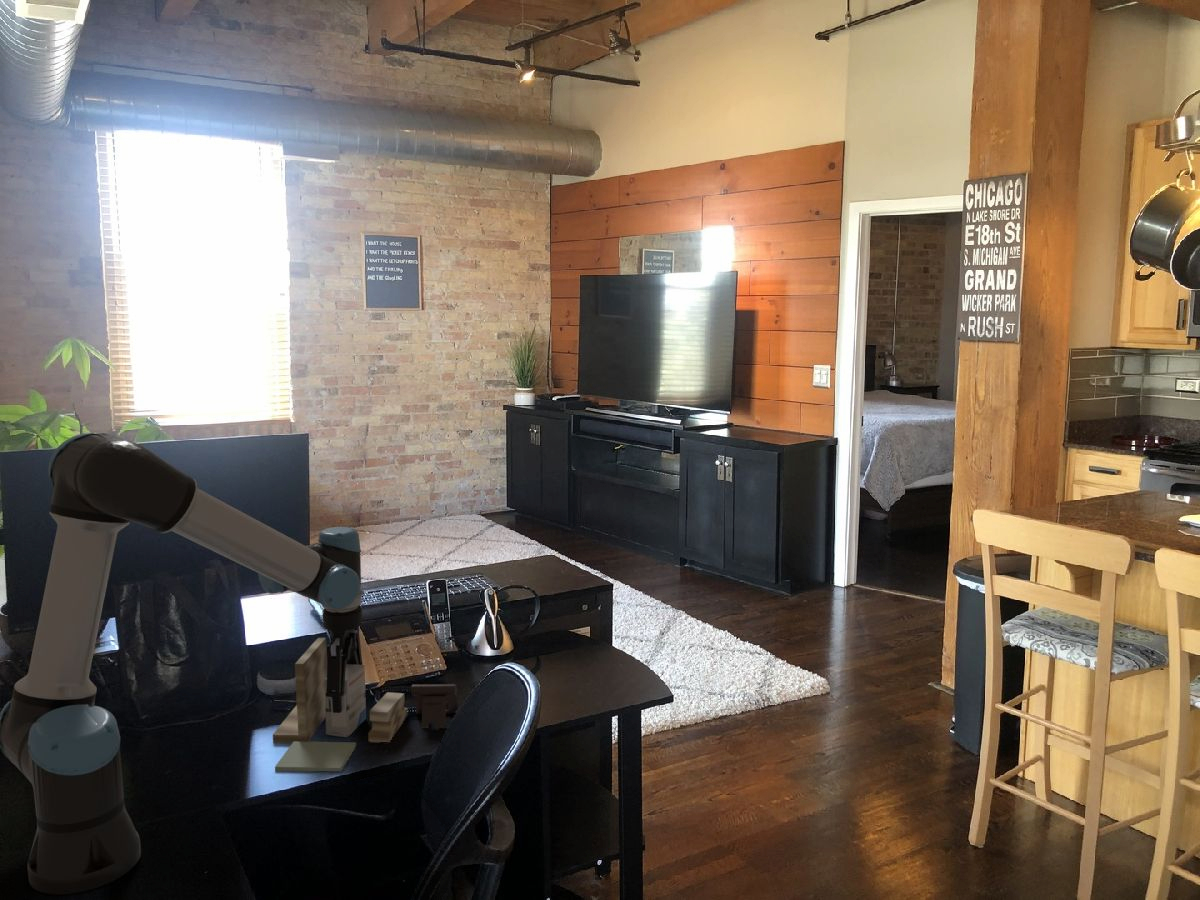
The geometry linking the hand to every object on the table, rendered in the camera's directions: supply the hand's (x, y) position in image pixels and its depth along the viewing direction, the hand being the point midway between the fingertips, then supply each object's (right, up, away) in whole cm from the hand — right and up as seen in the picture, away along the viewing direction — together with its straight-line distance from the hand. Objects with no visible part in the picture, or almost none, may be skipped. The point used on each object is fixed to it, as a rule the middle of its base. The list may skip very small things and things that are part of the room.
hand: (346, 715), depth 194 cm
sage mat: (-2, -5, -12) cm, 13 cm away
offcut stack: (+8, -3, 0) cm, 9 cm away
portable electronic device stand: (+17, -2, +4) cm, 18 cm away
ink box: (0, -3, 0) cm, 3 cm away
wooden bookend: (-9, -2, +1) cm, 9 cm away
